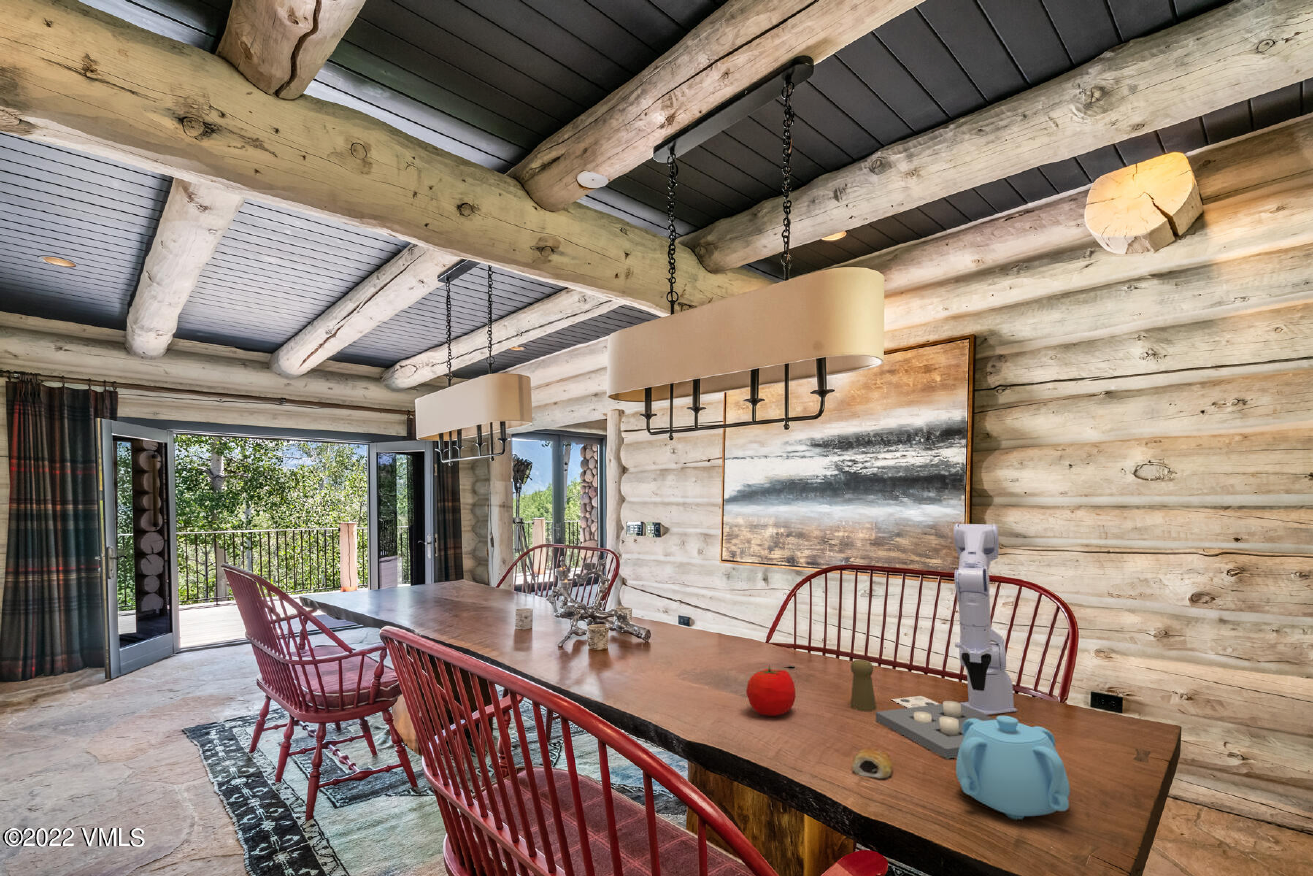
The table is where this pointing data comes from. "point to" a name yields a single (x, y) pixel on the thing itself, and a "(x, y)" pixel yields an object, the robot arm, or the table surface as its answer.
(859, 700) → the olive pawn figure
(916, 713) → the button
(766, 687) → the tomato
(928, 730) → the board
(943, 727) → the button
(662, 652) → the table surface
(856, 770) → the pastry
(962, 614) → the robot arm
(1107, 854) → the table surface
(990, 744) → the decorative pot
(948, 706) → the button
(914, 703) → the card
